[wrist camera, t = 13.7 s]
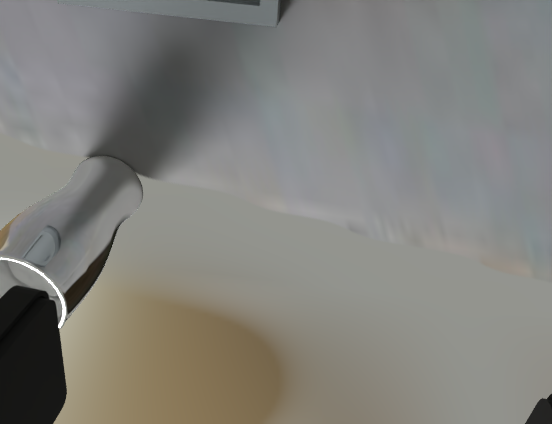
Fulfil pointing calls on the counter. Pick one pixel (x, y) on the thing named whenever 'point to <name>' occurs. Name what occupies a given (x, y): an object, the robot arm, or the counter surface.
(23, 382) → the robot arm
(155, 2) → the tray
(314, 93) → the counter surface
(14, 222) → the beer glass
